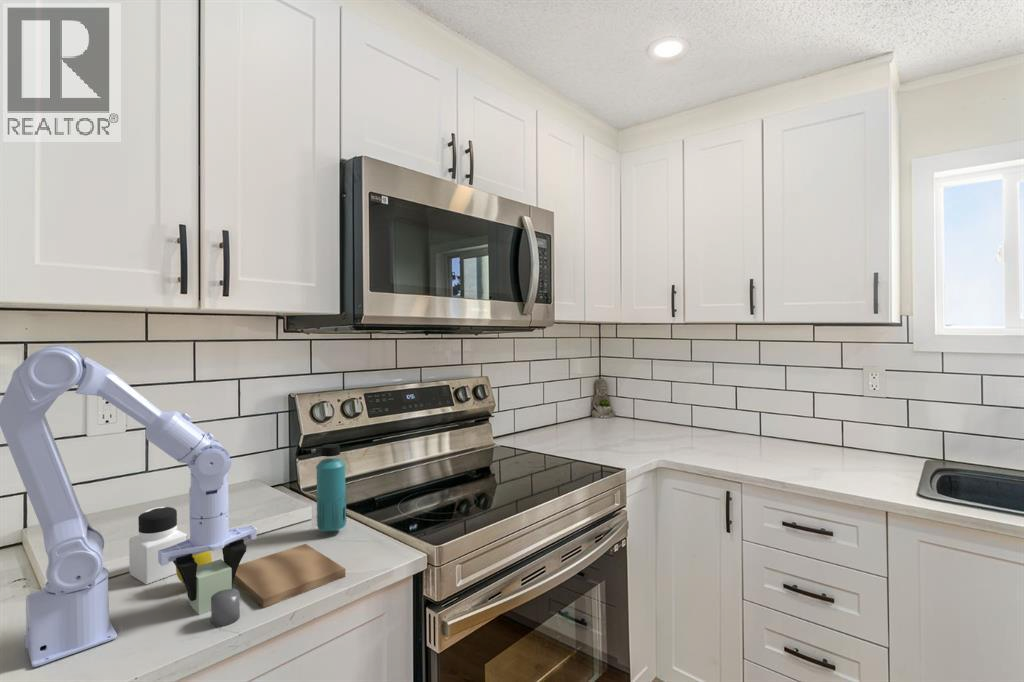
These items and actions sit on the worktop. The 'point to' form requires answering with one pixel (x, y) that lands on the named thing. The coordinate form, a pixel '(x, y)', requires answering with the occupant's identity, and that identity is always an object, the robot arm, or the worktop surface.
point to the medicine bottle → (154, 544)
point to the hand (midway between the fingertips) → (210, 592)
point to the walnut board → (286, 574)
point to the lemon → (198, 561)
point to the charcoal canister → (225, 607)
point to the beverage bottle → (331, 490)
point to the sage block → (210, 583)
